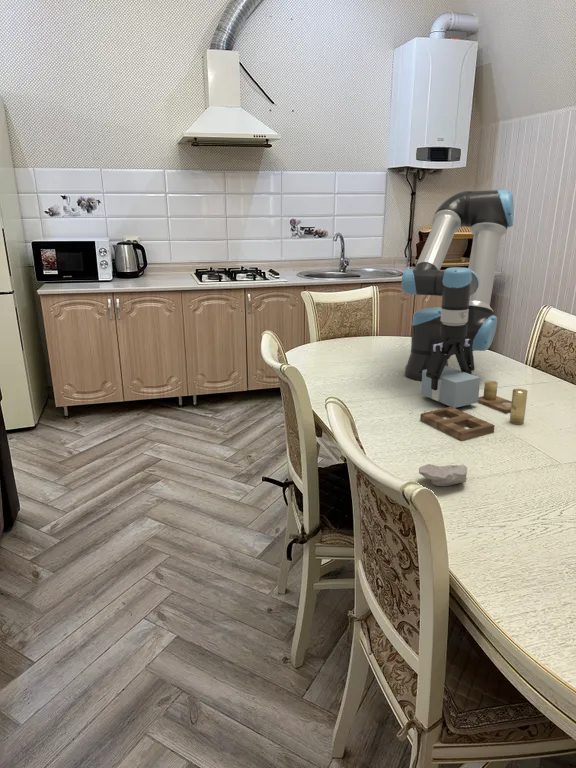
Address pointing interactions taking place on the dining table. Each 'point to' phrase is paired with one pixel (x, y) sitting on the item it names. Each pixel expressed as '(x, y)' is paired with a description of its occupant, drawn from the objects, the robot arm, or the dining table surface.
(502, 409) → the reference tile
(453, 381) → the housing
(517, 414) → the peg
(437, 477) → the fossil
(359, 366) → the dining table surface
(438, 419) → the board
